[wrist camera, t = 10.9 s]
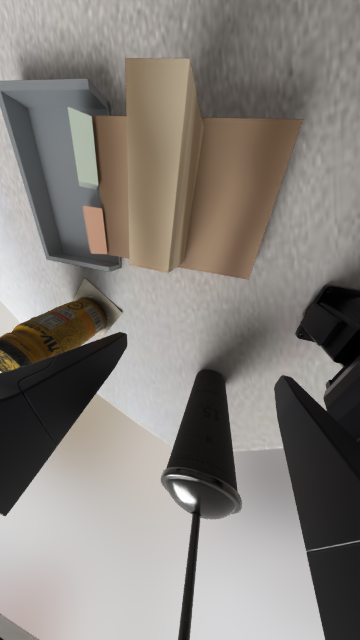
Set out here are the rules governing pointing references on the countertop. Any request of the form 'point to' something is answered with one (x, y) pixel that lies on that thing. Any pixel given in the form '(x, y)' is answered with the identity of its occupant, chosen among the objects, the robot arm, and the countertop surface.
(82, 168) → the tile sage
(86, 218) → the tile terracotta
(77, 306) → the condiment
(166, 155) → the tall cream block
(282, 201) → the countertop surface
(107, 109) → the tray
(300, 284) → the countertop surface
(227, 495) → the drinking cup
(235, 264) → the walnut board
